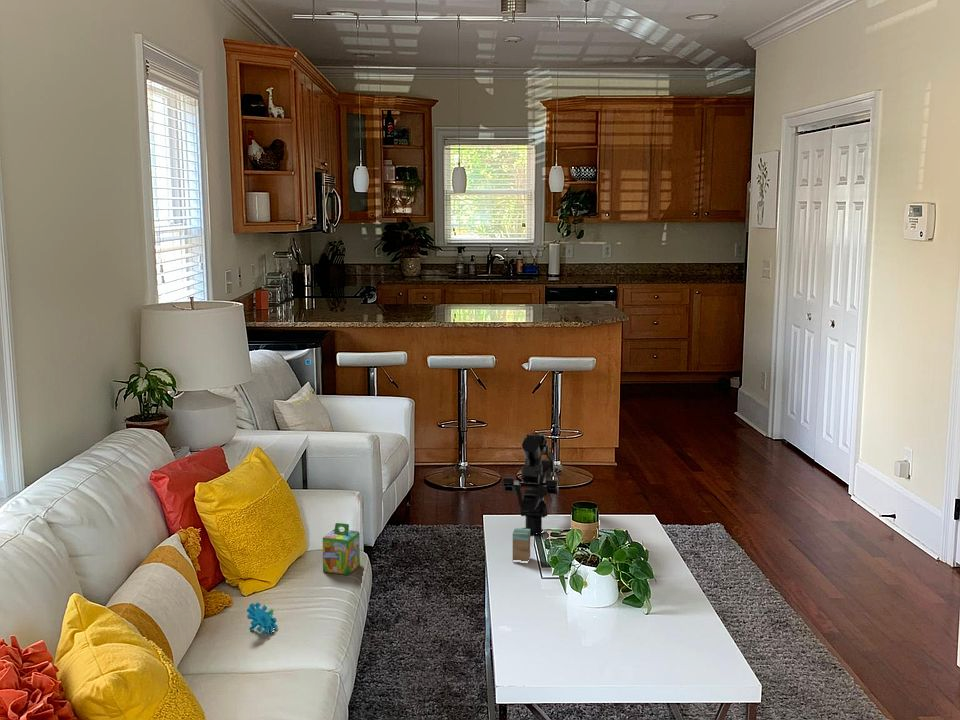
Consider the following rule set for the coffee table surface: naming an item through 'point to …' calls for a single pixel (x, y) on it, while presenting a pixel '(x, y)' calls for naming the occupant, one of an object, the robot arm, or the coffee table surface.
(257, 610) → the gear
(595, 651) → the coffee table surface
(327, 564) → the chalk box
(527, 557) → the block
